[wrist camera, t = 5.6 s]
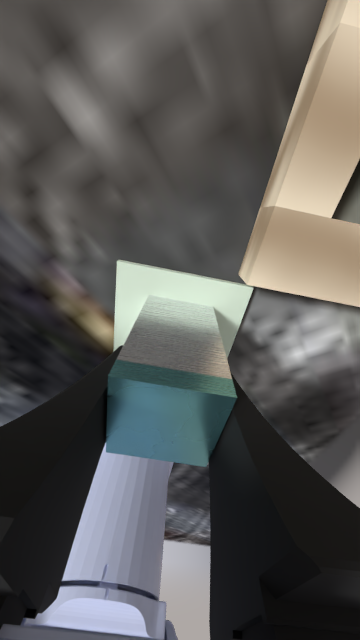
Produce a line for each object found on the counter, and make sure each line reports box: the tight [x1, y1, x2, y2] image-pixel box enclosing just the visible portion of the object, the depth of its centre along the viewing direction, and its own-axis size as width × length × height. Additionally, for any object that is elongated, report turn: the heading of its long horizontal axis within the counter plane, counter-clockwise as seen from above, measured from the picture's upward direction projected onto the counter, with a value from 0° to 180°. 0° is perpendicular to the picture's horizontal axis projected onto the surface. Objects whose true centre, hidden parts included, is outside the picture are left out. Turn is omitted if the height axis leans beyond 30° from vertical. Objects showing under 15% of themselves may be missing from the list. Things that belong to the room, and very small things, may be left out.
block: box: [106, 295, 237, 467], centre depth 10 cm, size 4×4×7 cm
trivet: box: [113, 260, 254, 358], centre depth 14 cm, size 8×8×1 cm
